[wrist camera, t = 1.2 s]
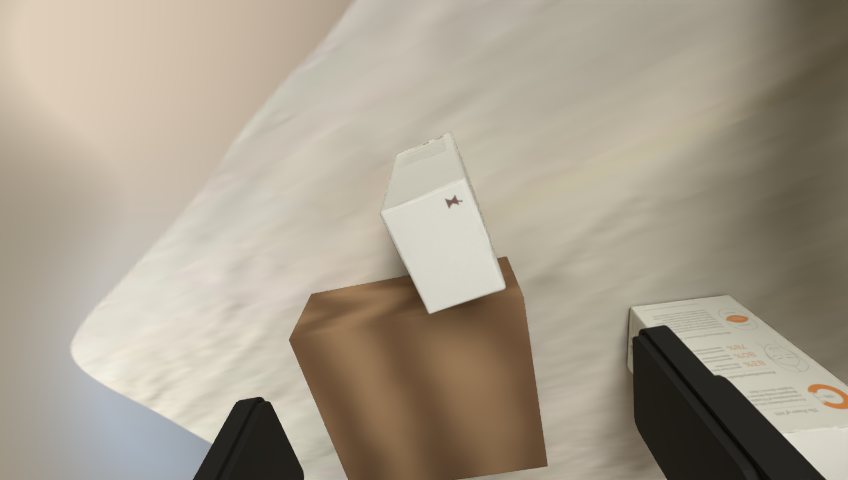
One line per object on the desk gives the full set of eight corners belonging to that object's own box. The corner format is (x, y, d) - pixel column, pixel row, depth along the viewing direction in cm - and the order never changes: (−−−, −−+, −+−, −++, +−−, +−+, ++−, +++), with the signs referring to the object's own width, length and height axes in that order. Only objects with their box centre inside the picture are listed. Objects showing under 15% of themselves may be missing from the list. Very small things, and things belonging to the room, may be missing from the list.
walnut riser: (506, 256, 32) (523, 296, 27) (530, 408, 38) (547, 466, 33) (311, 294, 33) (288, 339, 28) (364, 434, 40) (354, 494, 34)
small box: (625, 365, 36) (723, 515, 24) (628, 305, 34) (739, 437, 22) (720, 355, 36) (868, 502, 24) (730, 292, 33) (901, 421, 21)
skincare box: (394, 154, 29) (375, 209, 18) (451, 130, 28) (467, 173, 17) (427, 228, 31) (427, 318, 20) (480, 208, 30) (511, 289, 19)
